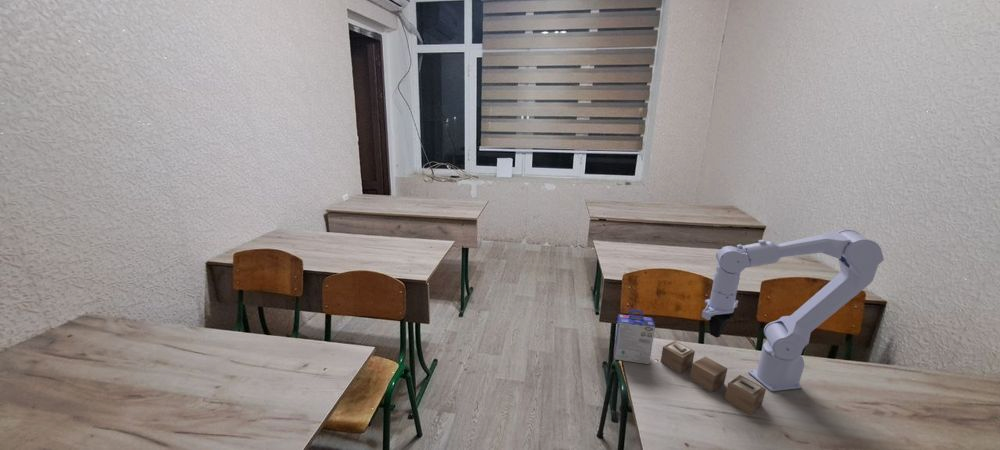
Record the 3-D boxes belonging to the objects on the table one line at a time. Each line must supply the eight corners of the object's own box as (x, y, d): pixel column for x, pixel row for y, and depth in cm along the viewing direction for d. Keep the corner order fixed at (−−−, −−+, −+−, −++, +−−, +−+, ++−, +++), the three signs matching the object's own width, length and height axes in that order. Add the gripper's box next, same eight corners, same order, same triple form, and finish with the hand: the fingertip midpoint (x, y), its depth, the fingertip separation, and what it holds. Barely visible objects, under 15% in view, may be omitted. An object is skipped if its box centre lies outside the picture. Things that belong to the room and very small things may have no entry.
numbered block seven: (672, 355, 113) (675, 339, 112) (691, 366, 108) (695, 349, 107) (660, 361, 110) (663, 345, 108) (679, 373, 105) (683, 356, 104)
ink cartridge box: (647, 353, 113) (654, 310, 109) (650, 365, 108) (657, 319, 104) (613, 349, 115) (618, 305, 111) (614, 360, 110) (620, 315, 106)
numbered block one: (736, 391, 99) (740, 373, 97) (761, 405, 94) (766, 387, 93) (724, 400, 96) (728, 382, 94) (749, 415, 91) (754, 396, 89)
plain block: (702, 371, 106) (705, 356, 105) (723, 384, 101) (727, 368, 100) (689, 379, 103) (692, 363, 102) (711, 392, 98) (714, 376, 97)
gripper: (723, 279, 109) (714, 322, 113) (694, 290, 101) (686, 335, 105) (749, 289, 103) (739, 333, 107) (721, 301, 96) (711, 348, 99)
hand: (714, 335), depth 106 cm, fingers closed
